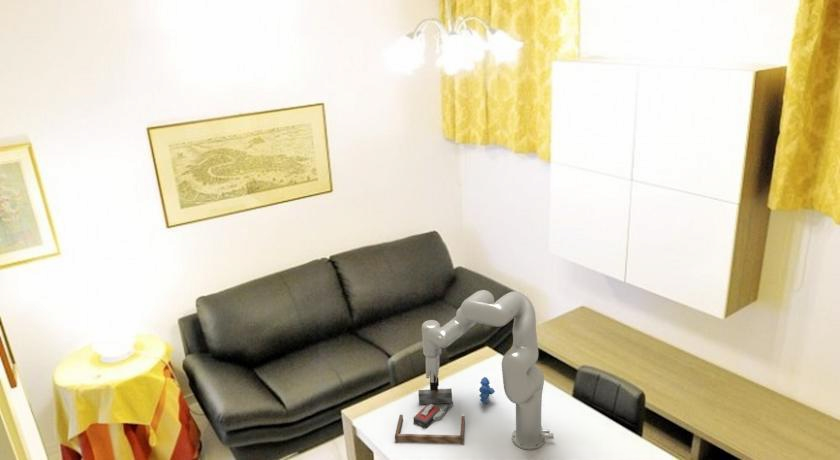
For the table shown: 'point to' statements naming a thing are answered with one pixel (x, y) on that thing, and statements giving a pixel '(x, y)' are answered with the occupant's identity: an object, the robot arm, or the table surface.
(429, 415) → the walkie-talkie
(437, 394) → the scraper
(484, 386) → the grapes
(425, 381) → the table surface
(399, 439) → the dock
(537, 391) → the robot arm
